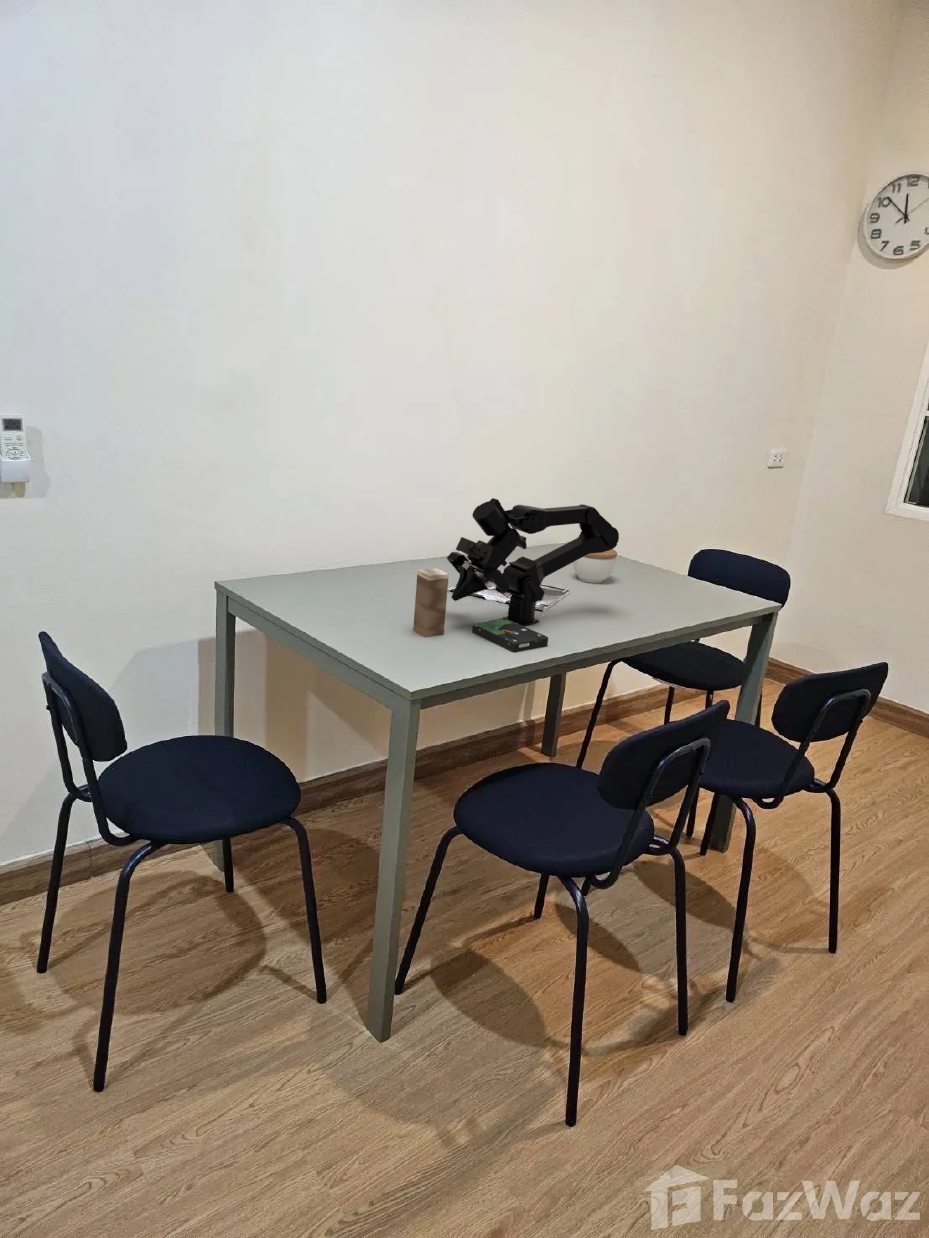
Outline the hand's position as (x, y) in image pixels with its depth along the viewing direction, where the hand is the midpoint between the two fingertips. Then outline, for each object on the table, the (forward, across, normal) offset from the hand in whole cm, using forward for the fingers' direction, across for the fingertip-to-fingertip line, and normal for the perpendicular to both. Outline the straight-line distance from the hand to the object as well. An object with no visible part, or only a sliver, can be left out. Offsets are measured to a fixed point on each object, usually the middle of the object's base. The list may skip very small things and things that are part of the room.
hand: (453, 599), depth 192 cm
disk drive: (-1, +10, +12) cm, 16 cm away
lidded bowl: (-42, -26, +52) cm, 71 cm away
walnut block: (+9, 0, +1) cm, 9 cm away
